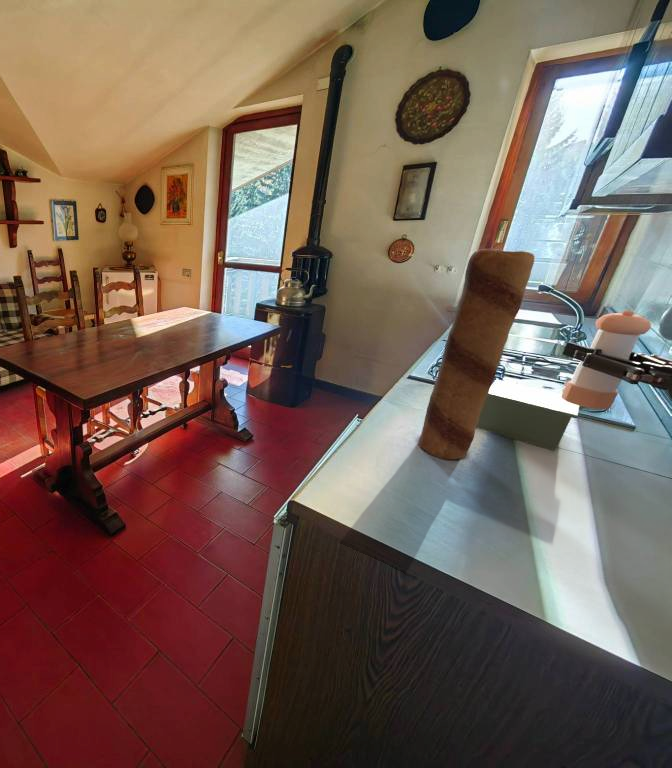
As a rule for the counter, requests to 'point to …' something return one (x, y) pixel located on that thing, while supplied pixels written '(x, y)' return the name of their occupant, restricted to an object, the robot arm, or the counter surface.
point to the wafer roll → (474, 349)
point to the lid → (533, 398)
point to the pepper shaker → (615, 341)
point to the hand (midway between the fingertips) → (582, 348)
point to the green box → (523, 422)
